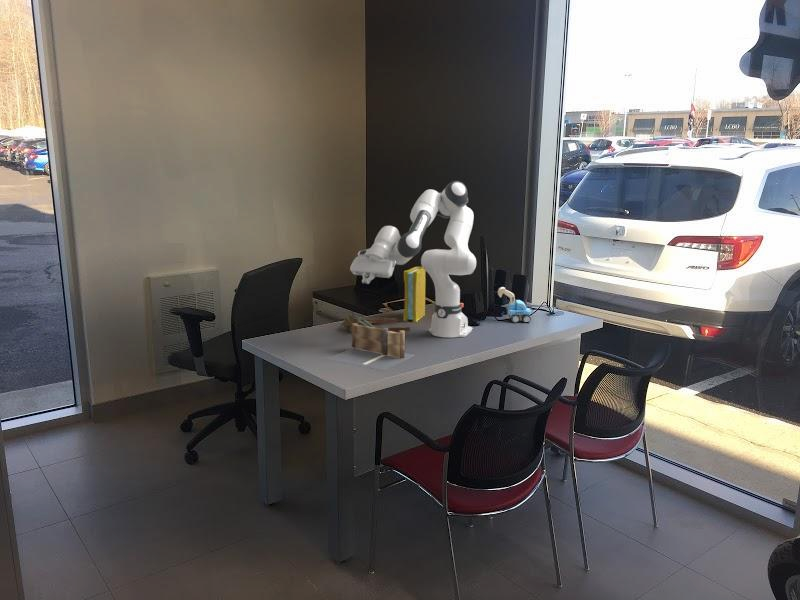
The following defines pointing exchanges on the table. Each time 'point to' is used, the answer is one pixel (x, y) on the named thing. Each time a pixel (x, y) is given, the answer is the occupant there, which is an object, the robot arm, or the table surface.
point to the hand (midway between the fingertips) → (365, 282)
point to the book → (414, 294)
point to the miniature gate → (369, 322)
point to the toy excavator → (516, 307)
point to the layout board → (368, 359)
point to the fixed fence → (393, 343)
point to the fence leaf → (366, 338)
